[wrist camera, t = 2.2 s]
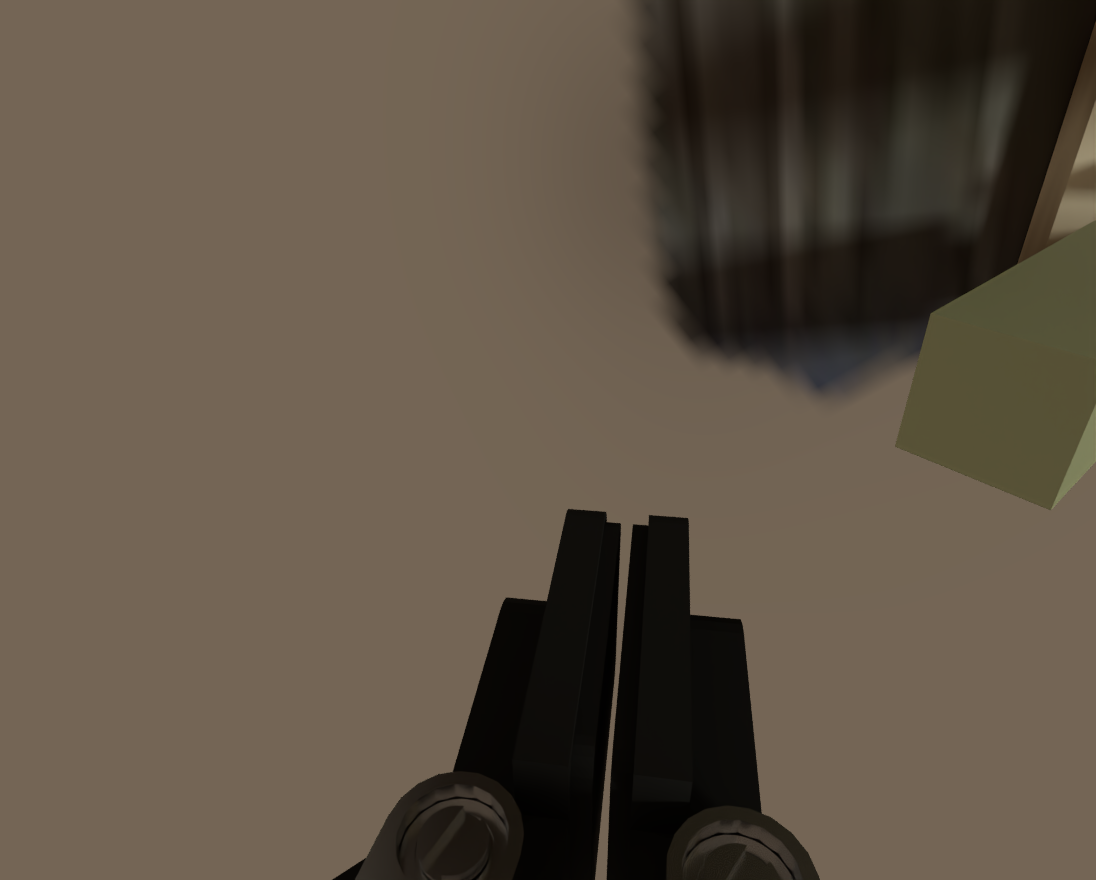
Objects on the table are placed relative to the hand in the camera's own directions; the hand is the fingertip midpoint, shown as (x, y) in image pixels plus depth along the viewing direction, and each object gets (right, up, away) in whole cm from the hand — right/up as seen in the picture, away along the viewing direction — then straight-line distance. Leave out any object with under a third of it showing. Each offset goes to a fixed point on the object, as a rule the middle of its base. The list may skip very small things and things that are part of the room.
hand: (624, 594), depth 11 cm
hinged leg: (+16, +7, +10) cm, 20 cm away
